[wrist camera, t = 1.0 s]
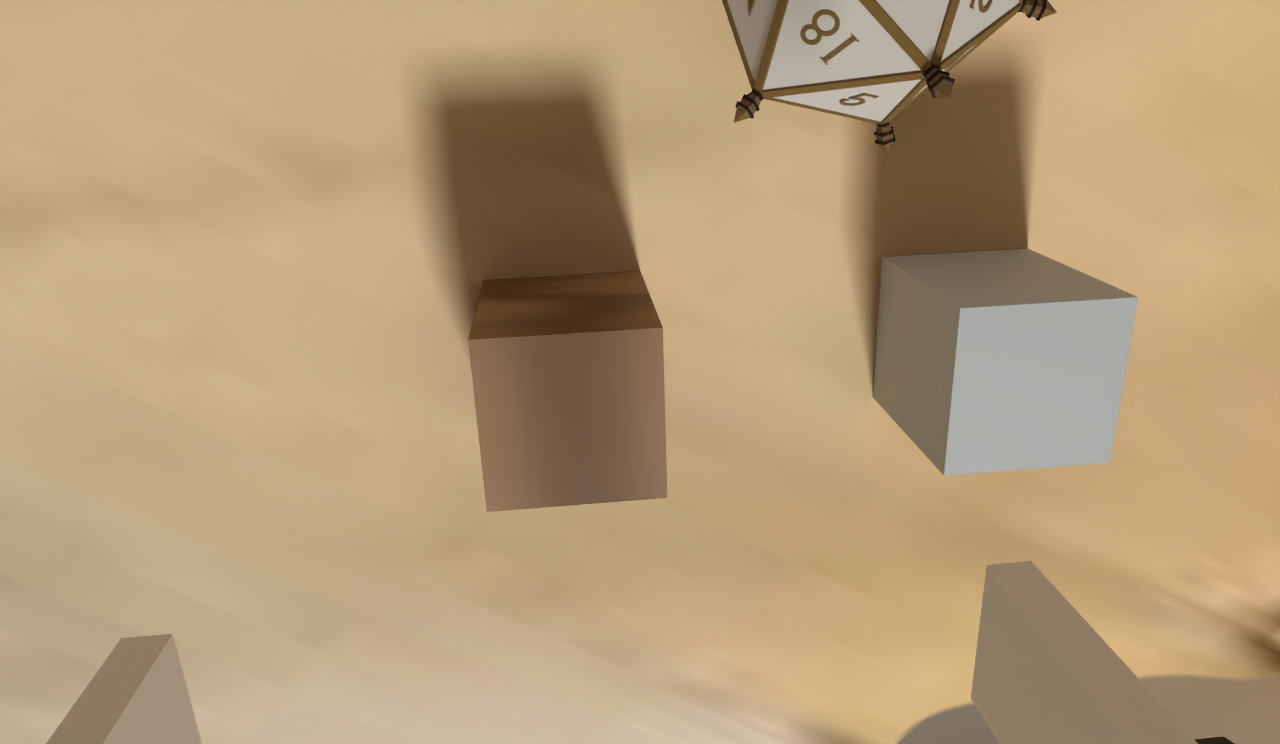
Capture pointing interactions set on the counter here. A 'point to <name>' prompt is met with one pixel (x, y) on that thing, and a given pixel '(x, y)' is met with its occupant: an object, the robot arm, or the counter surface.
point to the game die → (861, 51)
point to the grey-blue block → (1001, 359)
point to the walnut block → (569, 391)
